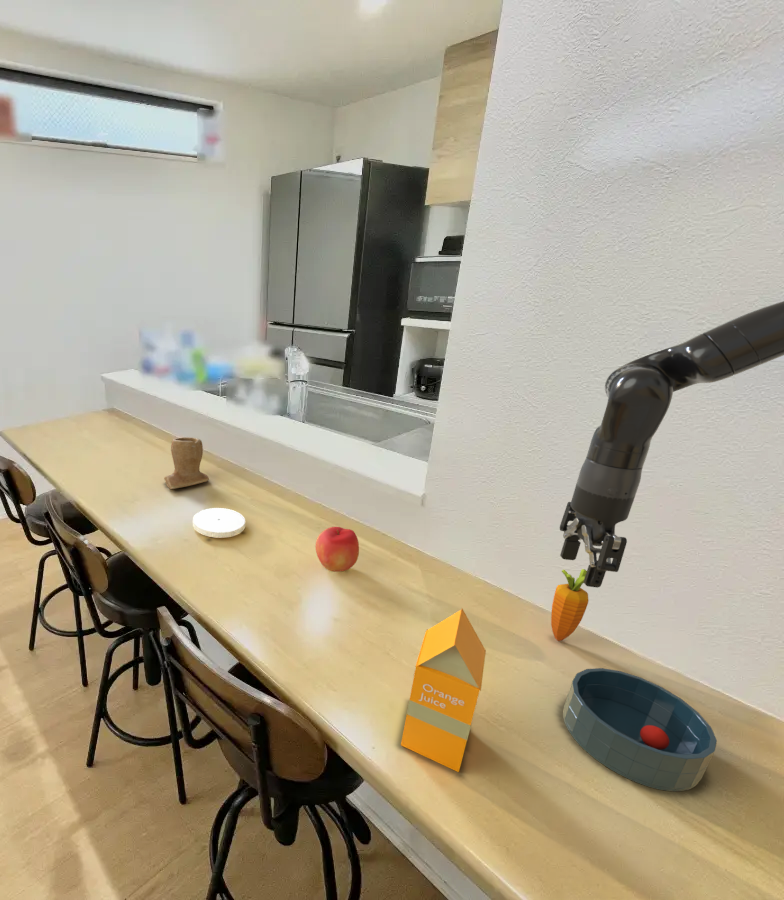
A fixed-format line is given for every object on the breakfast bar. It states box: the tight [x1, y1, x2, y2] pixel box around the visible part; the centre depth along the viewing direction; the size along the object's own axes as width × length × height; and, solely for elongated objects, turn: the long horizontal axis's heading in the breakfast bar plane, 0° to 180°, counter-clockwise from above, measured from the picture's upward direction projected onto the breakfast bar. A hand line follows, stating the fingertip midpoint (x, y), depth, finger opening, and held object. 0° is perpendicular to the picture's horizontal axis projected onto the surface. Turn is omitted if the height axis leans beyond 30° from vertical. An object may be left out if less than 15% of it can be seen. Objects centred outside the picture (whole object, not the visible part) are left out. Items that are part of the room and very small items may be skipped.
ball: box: [640, 725, 669, 750], centre depth 70 cm, size 3×3×3 cm
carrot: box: [550, 568, 589, 642], centre depth 89 cm, size 5×5×15 cm
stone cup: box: [163, 436, 210, 490], centre depth 159 cm, size 15×12×15 cm
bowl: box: [562, 667, 718, 792], centre depth 71 cm, size 15×15×6 cm
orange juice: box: [400, 608, 487, 773], centre depth 69 cm, size 8×9×20 cm
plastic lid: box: [192, 507, 246, 539], centre depth 132 cm, size 14×14×2 cm
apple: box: [315, 526, 360, 573], centre depth 112 cm, size 10×10×10 cm
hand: (578, 571), depth 86 cm, fingers open, 8 cm apart
